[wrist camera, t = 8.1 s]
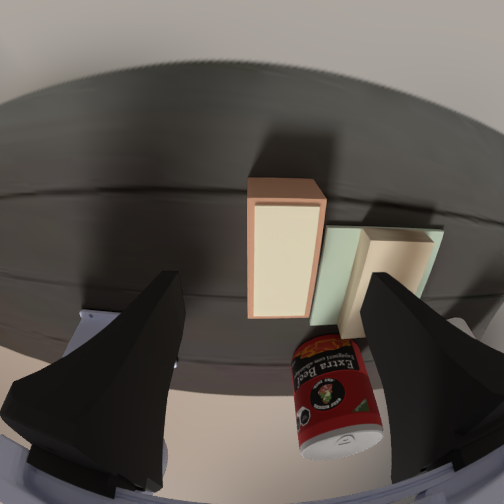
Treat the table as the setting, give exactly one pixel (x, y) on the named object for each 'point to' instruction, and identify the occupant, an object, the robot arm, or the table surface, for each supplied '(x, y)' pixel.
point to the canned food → (333, 399)
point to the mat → (349, 269)
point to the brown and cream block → (283, 245)
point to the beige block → (382, 269)
